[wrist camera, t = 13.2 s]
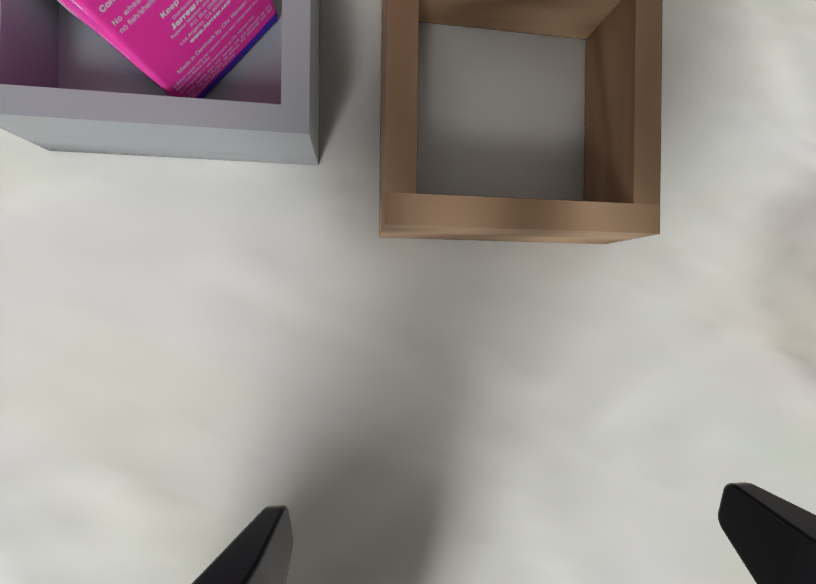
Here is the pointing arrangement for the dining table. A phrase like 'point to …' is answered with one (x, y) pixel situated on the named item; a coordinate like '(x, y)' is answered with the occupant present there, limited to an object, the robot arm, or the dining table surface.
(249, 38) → the supplement box
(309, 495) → the dining table surface
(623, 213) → the holder
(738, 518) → the robot arm
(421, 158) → the dining table surface
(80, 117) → the tray
